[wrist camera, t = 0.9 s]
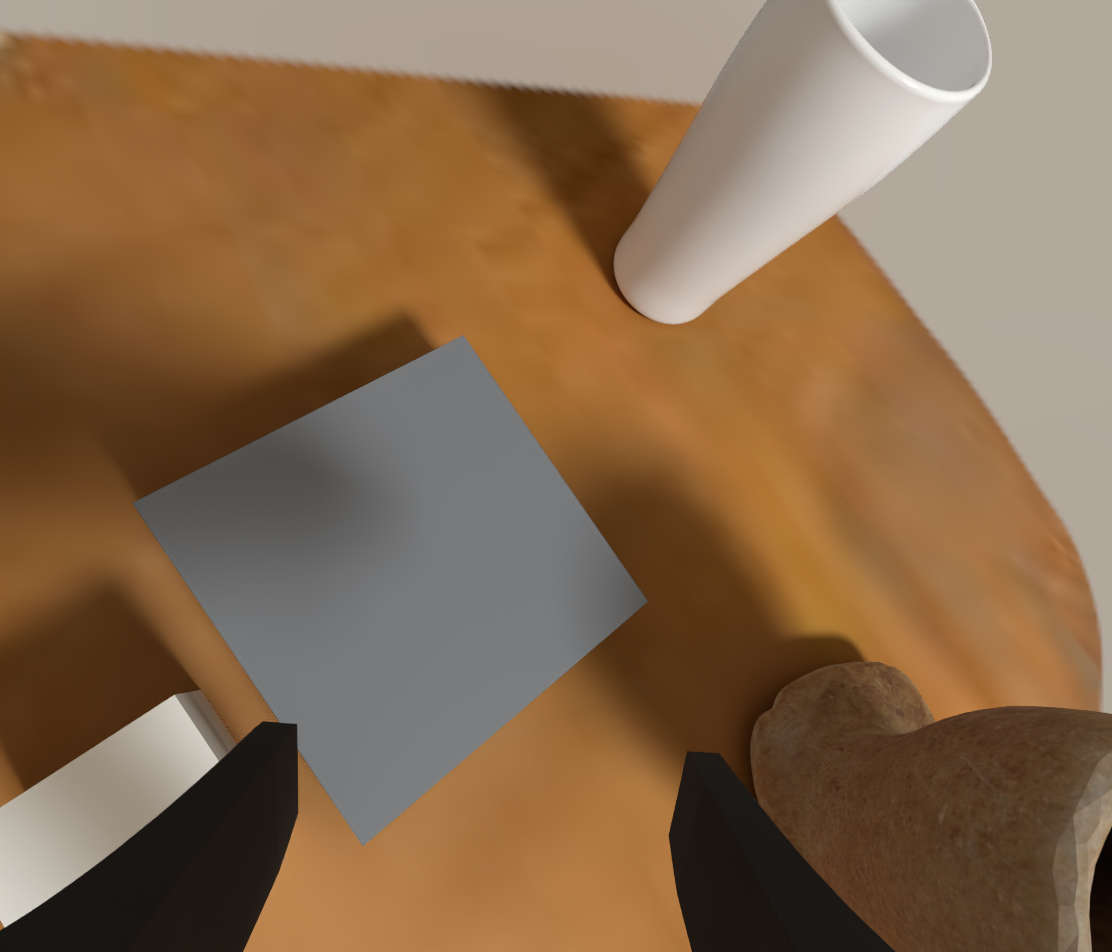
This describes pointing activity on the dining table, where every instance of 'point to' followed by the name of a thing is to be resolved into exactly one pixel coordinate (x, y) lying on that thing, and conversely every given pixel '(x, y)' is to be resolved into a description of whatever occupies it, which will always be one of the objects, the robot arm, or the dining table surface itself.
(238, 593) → the base
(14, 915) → the cube
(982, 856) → the stone cup
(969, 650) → the dining table surface
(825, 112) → the drinking glass
